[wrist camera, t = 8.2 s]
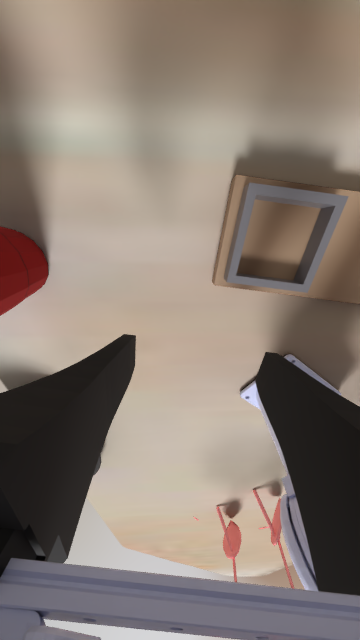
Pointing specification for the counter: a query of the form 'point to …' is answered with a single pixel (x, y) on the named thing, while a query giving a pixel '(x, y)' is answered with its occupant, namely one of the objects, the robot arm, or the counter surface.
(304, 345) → the counter surface
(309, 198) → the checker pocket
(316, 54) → the counter surface
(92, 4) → the counter surface
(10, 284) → the plastic cup
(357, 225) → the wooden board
